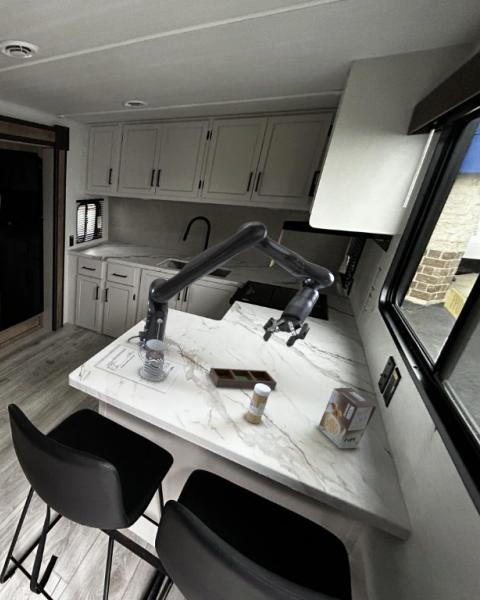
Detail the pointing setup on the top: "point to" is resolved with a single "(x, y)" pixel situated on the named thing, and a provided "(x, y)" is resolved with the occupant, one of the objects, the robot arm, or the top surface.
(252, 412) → the brown spice jar
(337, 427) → the coffee box
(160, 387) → the top surface
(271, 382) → the tray
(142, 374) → the french press
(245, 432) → the top surface
